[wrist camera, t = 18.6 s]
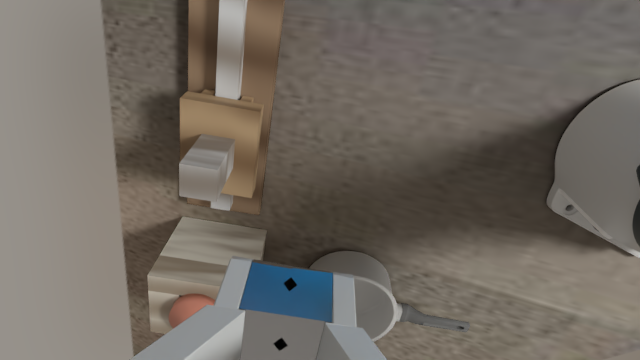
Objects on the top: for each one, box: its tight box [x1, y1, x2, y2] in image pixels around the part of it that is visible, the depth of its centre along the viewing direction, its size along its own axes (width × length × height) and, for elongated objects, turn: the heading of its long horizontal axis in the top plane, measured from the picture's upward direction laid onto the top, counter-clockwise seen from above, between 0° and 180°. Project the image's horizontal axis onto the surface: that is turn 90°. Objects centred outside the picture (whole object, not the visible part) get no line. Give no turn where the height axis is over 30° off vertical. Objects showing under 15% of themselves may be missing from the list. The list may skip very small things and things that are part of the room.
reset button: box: [169, 293, 215, 329], centre depth 42 cm, size 5×5×4 cm
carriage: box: [179, 89, 264, 202], centre depth 36 cm, size 9×7×9 cm
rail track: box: [147, 0, 285, 334], centre depth 35 cm, size 50×10×10 cm, turn 170°
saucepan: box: [309, 251, 470, 342], centre depth 49 cm, size 12×20×6 cm, turn 82°
